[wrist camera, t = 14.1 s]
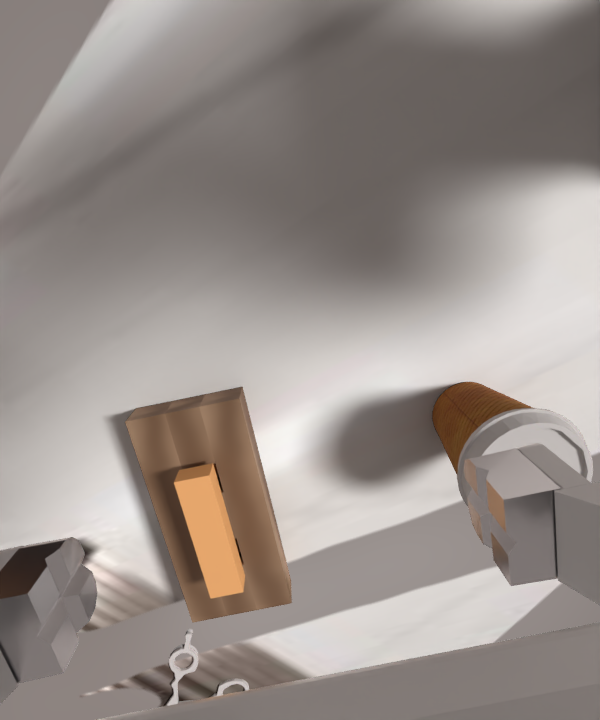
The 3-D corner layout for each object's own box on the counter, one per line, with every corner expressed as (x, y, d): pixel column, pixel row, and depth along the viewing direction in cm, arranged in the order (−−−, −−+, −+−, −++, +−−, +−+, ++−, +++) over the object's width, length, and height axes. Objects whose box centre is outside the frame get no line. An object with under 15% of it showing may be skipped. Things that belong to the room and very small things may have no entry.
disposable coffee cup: (524, 438, 44) (610, 511, 32) (431, 471, 44) (483, 554, 33) (501, 350, 41) (586, 395, 30) (402, 386, 42) (448, 445, 30)
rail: (242, 386, 41) (239, 398, 38) (290, 580, 47) (291, 603, 44) (135, 408, 41) (125, 421, 39) (197, 598, 47) (192, 622, 45)
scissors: (262, 681, 51) (152, 781, 54) (262, 675, 51) (154, 773, 55) (188, 632, 48) (77, 740, 52) (189, 626, 49) (80, 732, 52)
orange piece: (219, 442, 43) (209, 475, 37) (248, 547, 46) (243, 592, 40) (188, 448, 43) (173, 482, 37) (219, 552, 46) (210, 598, 40)
